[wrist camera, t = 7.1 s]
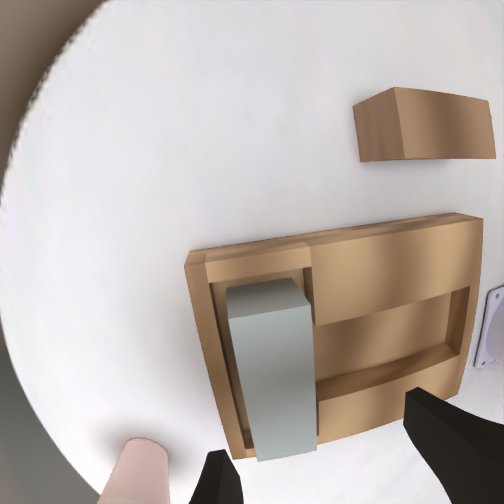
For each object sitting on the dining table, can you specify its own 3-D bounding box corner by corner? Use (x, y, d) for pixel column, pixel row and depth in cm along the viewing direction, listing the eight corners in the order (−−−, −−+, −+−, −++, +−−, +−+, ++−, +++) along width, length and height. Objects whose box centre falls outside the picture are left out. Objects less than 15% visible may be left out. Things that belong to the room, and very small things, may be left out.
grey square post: (291, 277, 17) (310, 304, 13) (302, 410, 20) (316, 450, 16) (226, 287, 17) (228, 319, 13) (251, 419, 19) (257, 461, 16)
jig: (454, 212, 19) (483, 218, 16) (439, 375, 22) (457, 394, 19) (189, 251, 17) (184, 265, 14) (230, 431, 21) (232, 459, 18)
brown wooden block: (439, 111, 17) (487, 100, 12) (445, 158, 18) (496, 158, 13) (351, 106, 16) (393, 86, 12) (359, 161, 17) (404, 158, 12)
